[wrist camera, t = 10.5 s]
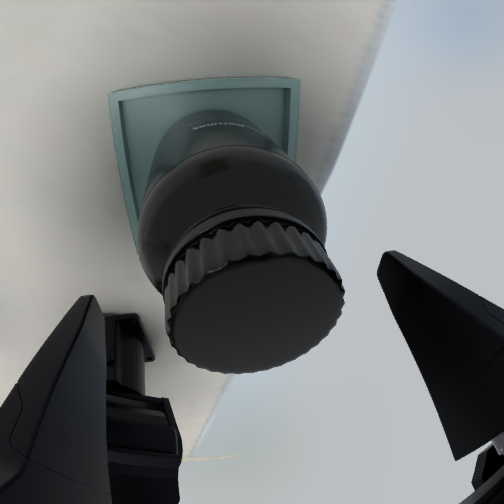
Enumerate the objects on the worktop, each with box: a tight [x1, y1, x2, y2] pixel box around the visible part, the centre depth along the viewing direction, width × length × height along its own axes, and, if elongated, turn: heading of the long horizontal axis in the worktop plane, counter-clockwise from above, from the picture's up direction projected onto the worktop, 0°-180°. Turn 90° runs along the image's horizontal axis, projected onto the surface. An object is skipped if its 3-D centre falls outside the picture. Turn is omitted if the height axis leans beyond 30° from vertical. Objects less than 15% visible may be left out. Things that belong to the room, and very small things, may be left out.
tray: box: [108, 77, 300, 253], centre depth 17 cm, size 10×10×2 cm
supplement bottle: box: [137, 110, 345, 374], centre depth 12 cm, size 7×7×12 cm
